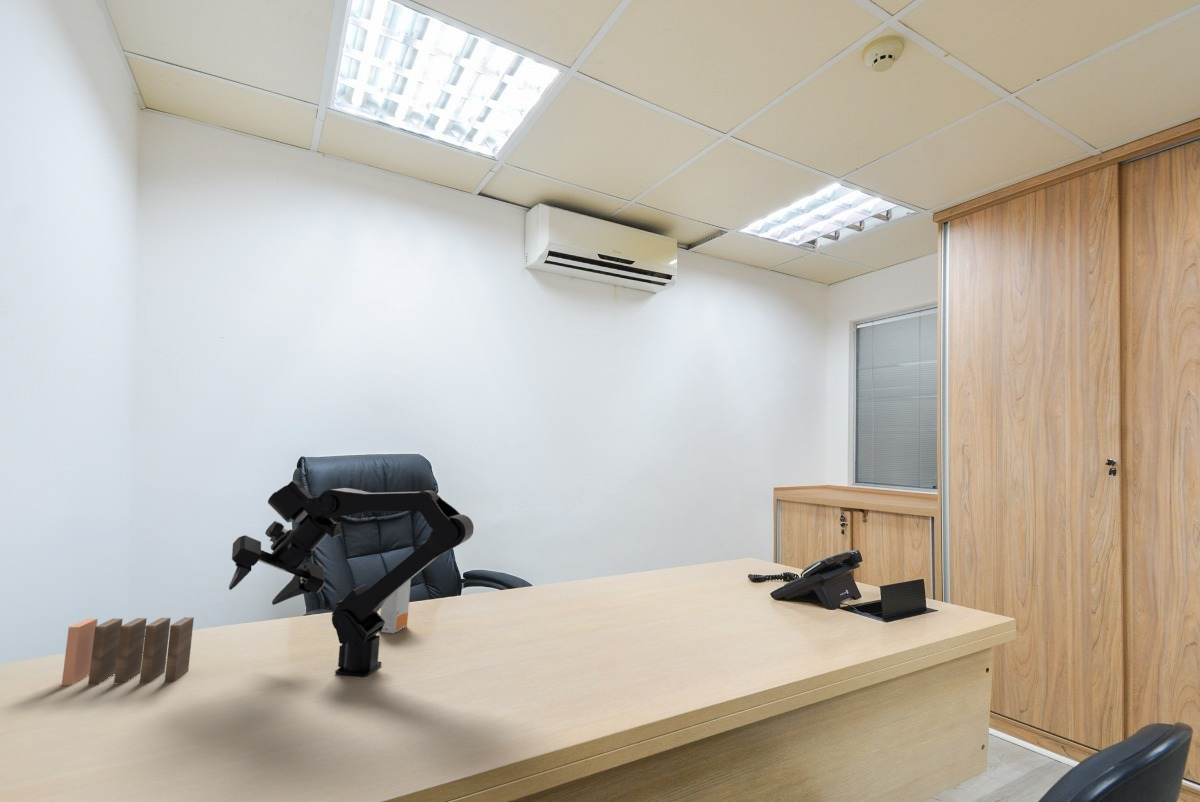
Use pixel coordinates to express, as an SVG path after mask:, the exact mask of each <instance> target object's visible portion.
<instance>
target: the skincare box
mask: <svg viewBox="0 0 1200 802" xmlns="http://www.w3.org/2000/svg"><path fill="white" fill-rule="evenodd" d="M411 580H412V579H410V580H409V581H408V582H407V583H406V584H404V585H403V586H402V587H401V588H399V589H398V590H397V591H396V592H395V593H393V594H392V595H391V596H390V597H389V598H387V599H386V601H385V602H384V604H383V605H382V606H381V608H380V614H379V615H380V616H381V617H382V619H383V620H384V621H385V624H384V626H383V629H382V631H381V632H380V633H386V634H395V632H396V633H397V632H399V631H401V630H403V629H405V628H407V627H408V619H409V618H408V617H409V609H410V607H409V605H410V594H411V582H412V581H411ZM406 626H407V627H406ZM404 627H405V628H404ZM402 628H403V629H402Z"/></svg>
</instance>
